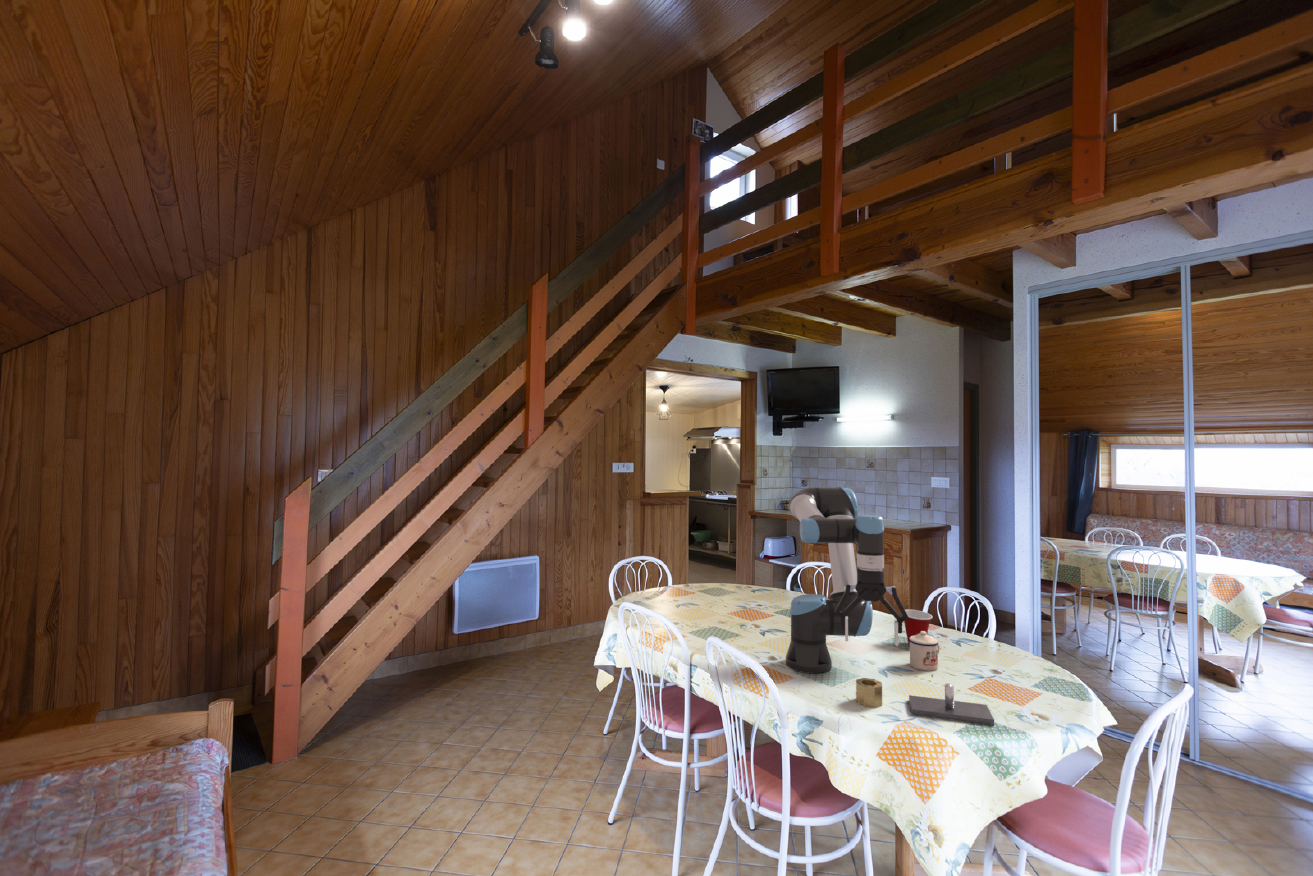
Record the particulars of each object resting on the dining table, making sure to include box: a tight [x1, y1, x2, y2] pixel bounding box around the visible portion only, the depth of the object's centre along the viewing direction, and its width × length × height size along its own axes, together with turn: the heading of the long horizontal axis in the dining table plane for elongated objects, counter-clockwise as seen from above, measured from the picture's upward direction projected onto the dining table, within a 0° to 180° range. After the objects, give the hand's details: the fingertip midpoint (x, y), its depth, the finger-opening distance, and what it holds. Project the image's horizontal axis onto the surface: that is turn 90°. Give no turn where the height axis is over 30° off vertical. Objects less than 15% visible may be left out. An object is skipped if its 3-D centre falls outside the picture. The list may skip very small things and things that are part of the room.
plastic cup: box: [903, 609, 934, 646], centre depth 222 cm, size 11×11×12 cm
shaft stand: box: [908, 683, 995, 726], centre depth 164 cm, size 20×10×8 cm, turn 71°
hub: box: [855, 677, 883, 708], centre depth 170 cm, size 7×7×6 cm
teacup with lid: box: [909, 631, 940, 672], centre depth 200 cm, size 12×9×12 cm
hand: (871, 642), depth 171 cm, fingers open, 13 cm apart
